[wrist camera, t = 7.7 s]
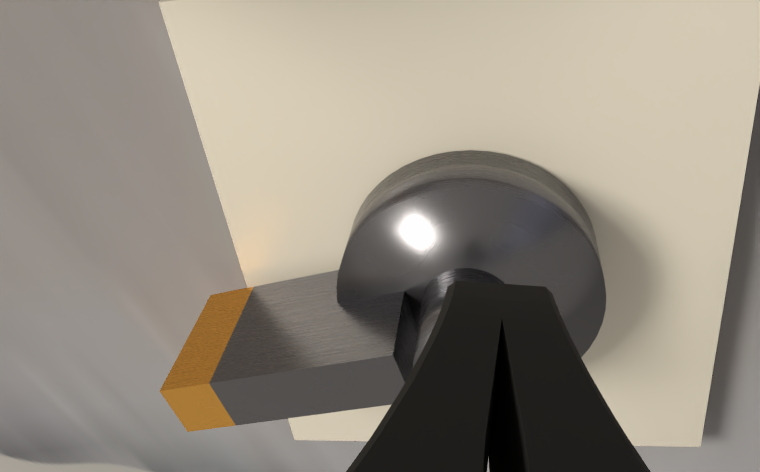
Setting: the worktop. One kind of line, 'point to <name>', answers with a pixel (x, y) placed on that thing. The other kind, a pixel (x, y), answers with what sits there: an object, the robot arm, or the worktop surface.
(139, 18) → the worktop surface
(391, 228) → the lever door handle
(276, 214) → the console plate
